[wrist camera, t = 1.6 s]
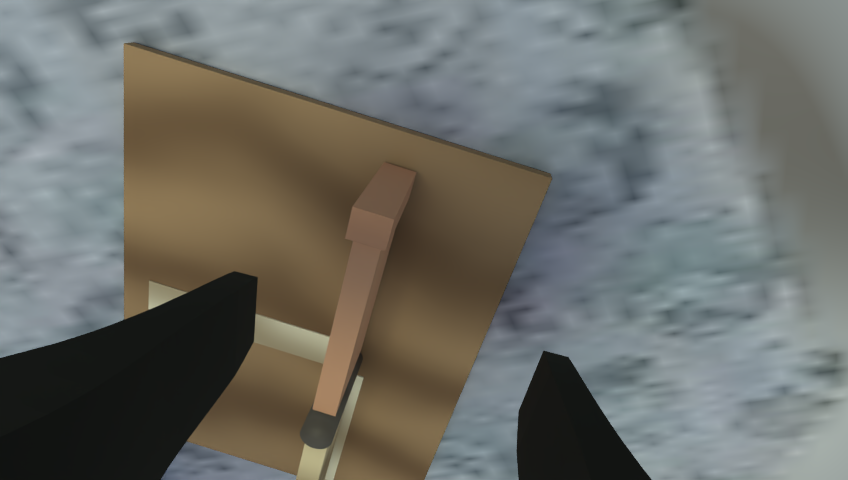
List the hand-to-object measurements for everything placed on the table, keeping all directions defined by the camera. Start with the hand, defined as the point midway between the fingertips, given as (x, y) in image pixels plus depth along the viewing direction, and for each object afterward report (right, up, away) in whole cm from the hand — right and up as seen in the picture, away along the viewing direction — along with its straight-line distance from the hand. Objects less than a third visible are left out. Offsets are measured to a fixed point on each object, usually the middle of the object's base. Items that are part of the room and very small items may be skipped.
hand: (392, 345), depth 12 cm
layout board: (-6, -1, +13) cm, 14 cm away
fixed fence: (-4, -7, +15) cm, 17 cm away
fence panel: (-1, +1, +10) cm, 10 cm away
